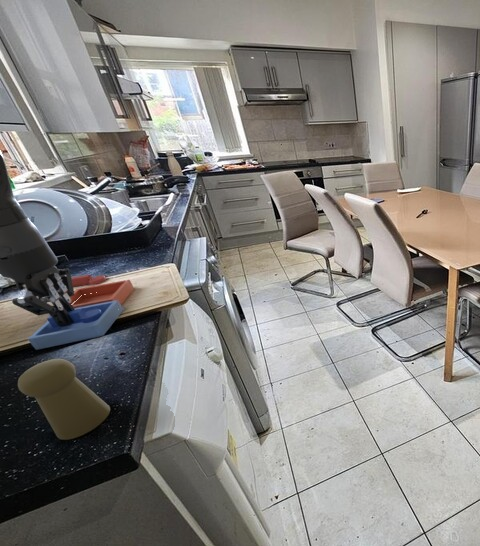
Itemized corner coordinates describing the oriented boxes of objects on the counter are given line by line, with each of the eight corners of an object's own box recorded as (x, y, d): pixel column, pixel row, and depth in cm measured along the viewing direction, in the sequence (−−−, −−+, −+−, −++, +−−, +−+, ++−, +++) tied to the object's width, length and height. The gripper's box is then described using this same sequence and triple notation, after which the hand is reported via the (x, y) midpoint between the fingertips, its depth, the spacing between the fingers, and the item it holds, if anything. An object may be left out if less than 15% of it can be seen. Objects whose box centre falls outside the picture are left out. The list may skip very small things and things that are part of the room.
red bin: (59, 321, 71) (52, 310, 69) (83, 298, 79) (76, 288, 78) (118, 309, 74) (112, 299, 72) (134, 289, 82) (129, 279, 81)
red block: (65, 290, 83) (60, 282, 82) (73, 284, 86) (68, 276, 85) (103, 283, 86) (98, 276, 84) (108, 278, 88) (104, 270, 87)
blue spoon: (50, 330, 64) (43, 321, 63) (60, 321, 67) (53, 312, 66) (98, 321, 66) (92, 311, 65) (106, 312, 69) (100, 303, 68)
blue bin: (36, 350, 62) (27, 339, 61) (65, 321, 70) (57, 311, 69) (104, 336, 65) (96, 325, 64) (124, 310, 73) (118, 300, 72)
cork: (117, 399, 50) (79, 347, 45) (101, 431, 45) (56, 376, 40) (70, 412, 49) (25, 359, 43) (47, 447, 44) (-7, 392, 38)
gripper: (16, 237, 63) (66, 309, 71) (-43, 266, 51) (25, 347, 60) (63, 231, 65) (106, 301, 73) (16, 257, 53) (74, 337, 62)
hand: (69, 322), depth 66 cm, fingers closed on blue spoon, 1 cm apart
